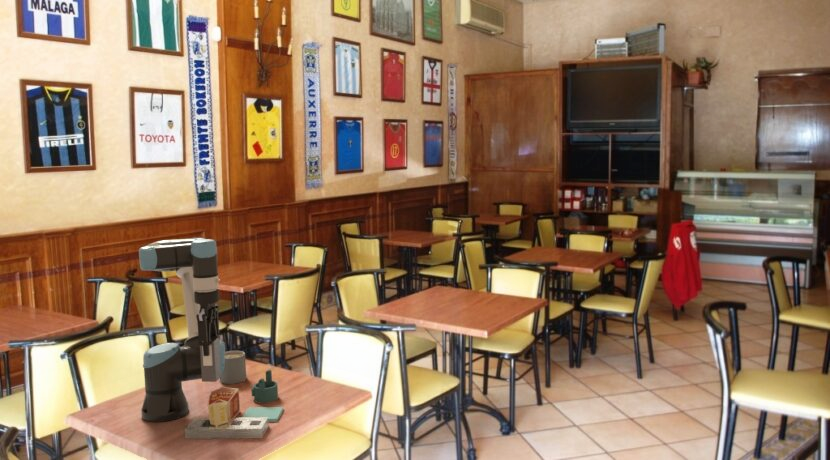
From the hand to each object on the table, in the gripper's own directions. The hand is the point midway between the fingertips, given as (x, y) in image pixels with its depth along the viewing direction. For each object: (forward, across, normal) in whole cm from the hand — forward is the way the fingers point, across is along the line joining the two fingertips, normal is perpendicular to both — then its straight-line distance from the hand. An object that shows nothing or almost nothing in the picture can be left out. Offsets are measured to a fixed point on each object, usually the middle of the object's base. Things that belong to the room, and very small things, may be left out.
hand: (210, 362), depth 217 cm
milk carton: (+18, +16, +2) cm, 24 cm away
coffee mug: (+23, +50, +9) cm, 56 cm away
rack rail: (+23, -1, -4) cm, 23 cm away
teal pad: (+23, +13, -12) cm, 29 cm away
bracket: (+23, +28, -8) cm, 38 cm away
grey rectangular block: (+5, 0, 0) cm, 5 cm away
